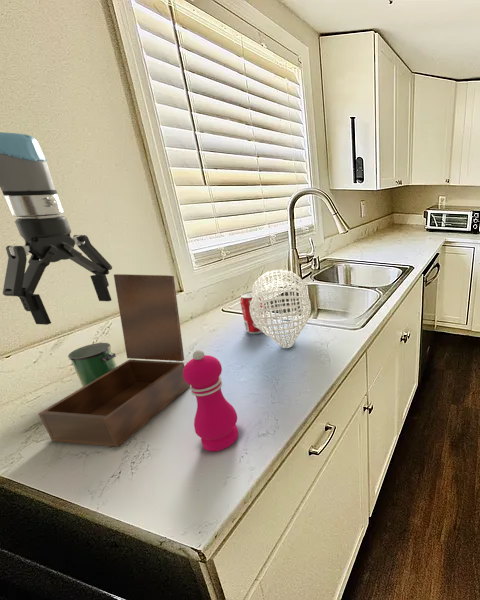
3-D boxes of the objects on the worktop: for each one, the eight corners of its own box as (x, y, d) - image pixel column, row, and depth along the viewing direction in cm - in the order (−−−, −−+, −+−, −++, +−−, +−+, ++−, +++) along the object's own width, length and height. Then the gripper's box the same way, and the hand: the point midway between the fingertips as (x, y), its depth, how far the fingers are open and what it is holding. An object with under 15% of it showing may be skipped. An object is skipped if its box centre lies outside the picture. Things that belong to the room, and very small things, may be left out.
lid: (171, 275, 74) (173, 275, 75) (113, 274, 75) (116, 274, 76) (181, 361, 78) (184, 360, 79) (127, 358, 79) (130, 357, 80)
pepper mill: (219, 458, 60) (193, 365, 53) (191, 448, 62) (162, 357, 55) (249, 431, 66) (229, 344, 59) (222, 422, 68) (200, 338, 61)
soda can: (255, 337, 105) (247, 299, 100) (241, 331, 109) (234, 295, 104) (273, 328, 111) (267, 293, 106) (260, 324, 114) (254, 289, 110)
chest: (118, 447, 63) (106, 418, 60) (52, 441, 64) (37, 413, 62) (190, 385, 81) (183, 362, 78) (137, 382, 82) (129, 359, 80)
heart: (261, 331, 109) (249, 267, 101) (308, 324, 114) (301, 262, 106) (258, 377, 84) (243, 296, 76) (319, 365, 89) (310, 288, 81)
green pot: (69, 393, 79) (53, 357, 75) (100, 375, 86) (86, 341, 82) (107, 395, 77) (93, 359, 74) (135, 377, 85) (123, 343, 81)
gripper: (-25, 225, 55) (27, 336, 63) (113, 210, 78) (138, 293, 86) (-62, 224, 56) (-6, 335, 64) (85, 210, 79) (113, 292, 87)
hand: (77, 311), depth 75 cm, fingers open, 13 cm apart
